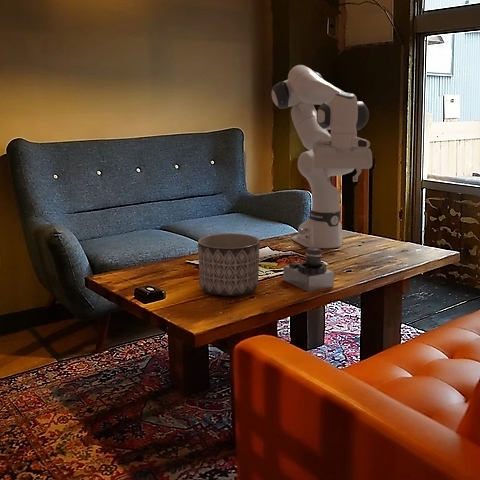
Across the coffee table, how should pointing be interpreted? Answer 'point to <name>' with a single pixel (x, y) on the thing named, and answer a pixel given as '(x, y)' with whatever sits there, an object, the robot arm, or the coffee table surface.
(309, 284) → the camera body
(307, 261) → the lens
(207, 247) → the planter
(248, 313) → the coffee table surface
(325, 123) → the robot arm
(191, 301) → the coffee table surface
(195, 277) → the coffee table surface
